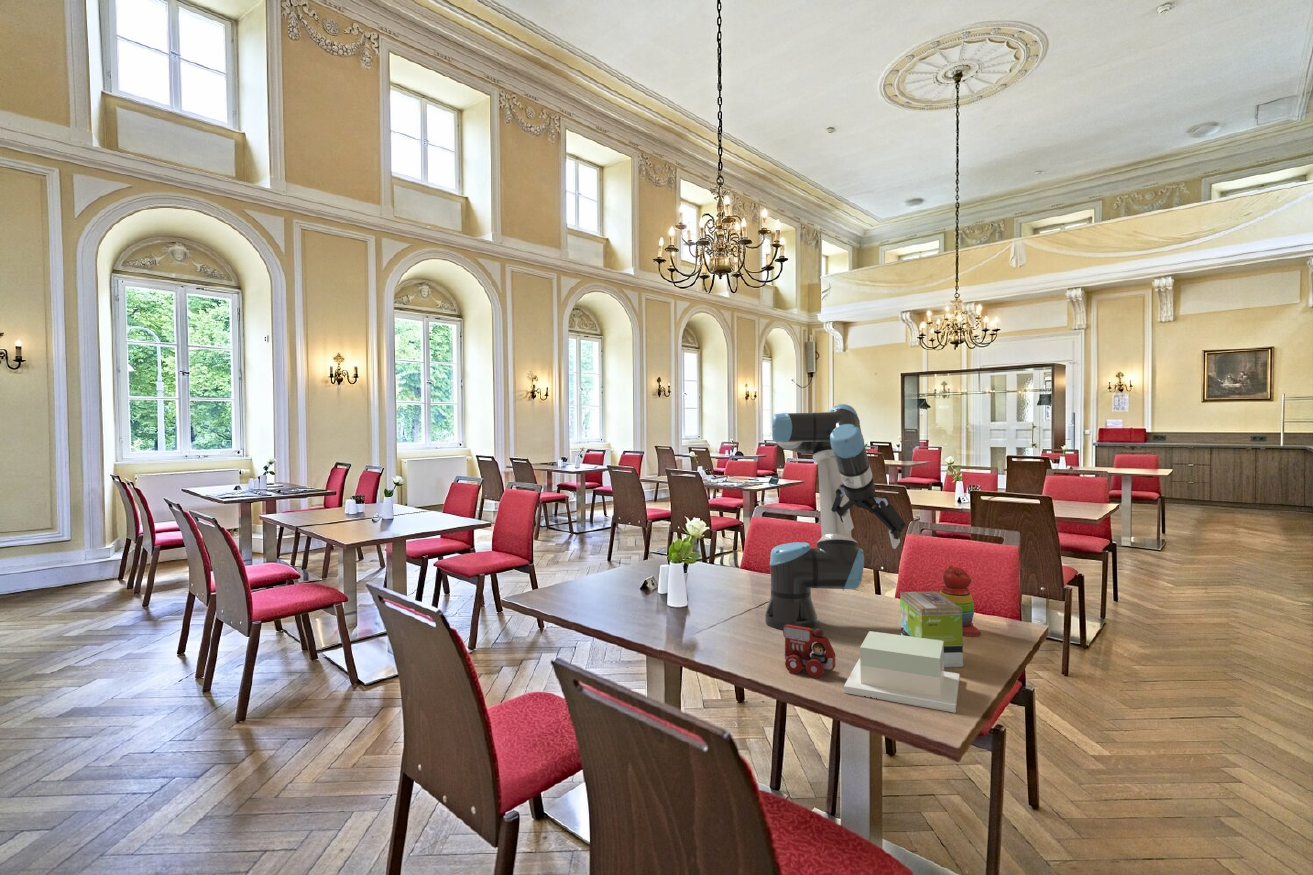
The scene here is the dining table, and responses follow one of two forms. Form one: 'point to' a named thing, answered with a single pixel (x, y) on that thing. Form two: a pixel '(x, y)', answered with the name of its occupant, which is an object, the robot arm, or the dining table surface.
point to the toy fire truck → (807, 650)
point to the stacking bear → (960, 597)
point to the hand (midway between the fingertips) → (872, 537)
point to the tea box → (934, 622)
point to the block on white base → (904, 672)
